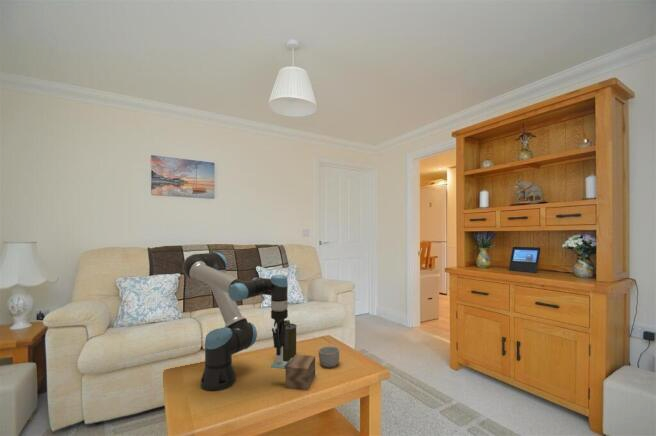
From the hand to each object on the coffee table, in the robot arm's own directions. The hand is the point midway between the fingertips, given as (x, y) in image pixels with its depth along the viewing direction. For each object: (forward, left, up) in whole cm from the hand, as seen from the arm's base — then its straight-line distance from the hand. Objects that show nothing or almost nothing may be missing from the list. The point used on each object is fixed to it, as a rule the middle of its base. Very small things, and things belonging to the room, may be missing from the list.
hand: (279, 361), depth 145 cm
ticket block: (+9, +4, -10) cm, 14 cm away
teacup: (+18, +26, -10) cm, 33 cm away
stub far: (+3, +7, -6) cm, 10 cm away
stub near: (0, 0, -2) cm, 2 cm away
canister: (-6, +28, -10) cm, 30 cm away
